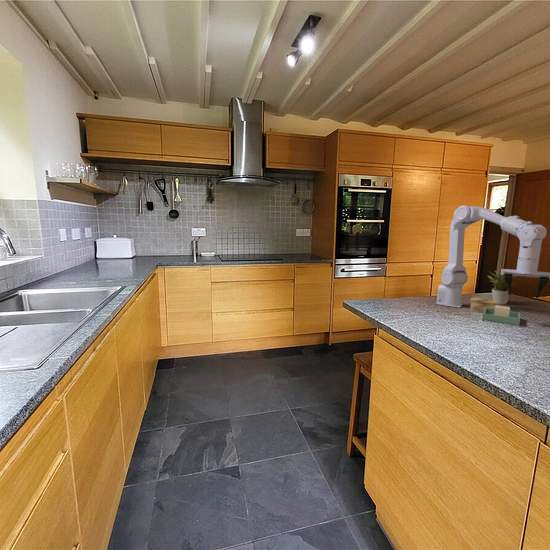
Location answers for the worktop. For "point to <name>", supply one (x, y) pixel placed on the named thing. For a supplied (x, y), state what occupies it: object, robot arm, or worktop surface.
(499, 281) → the house plant
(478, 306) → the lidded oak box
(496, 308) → the sandstone cube
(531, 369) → the worktop surface
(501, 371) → the worktop surface
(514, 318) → the tray
